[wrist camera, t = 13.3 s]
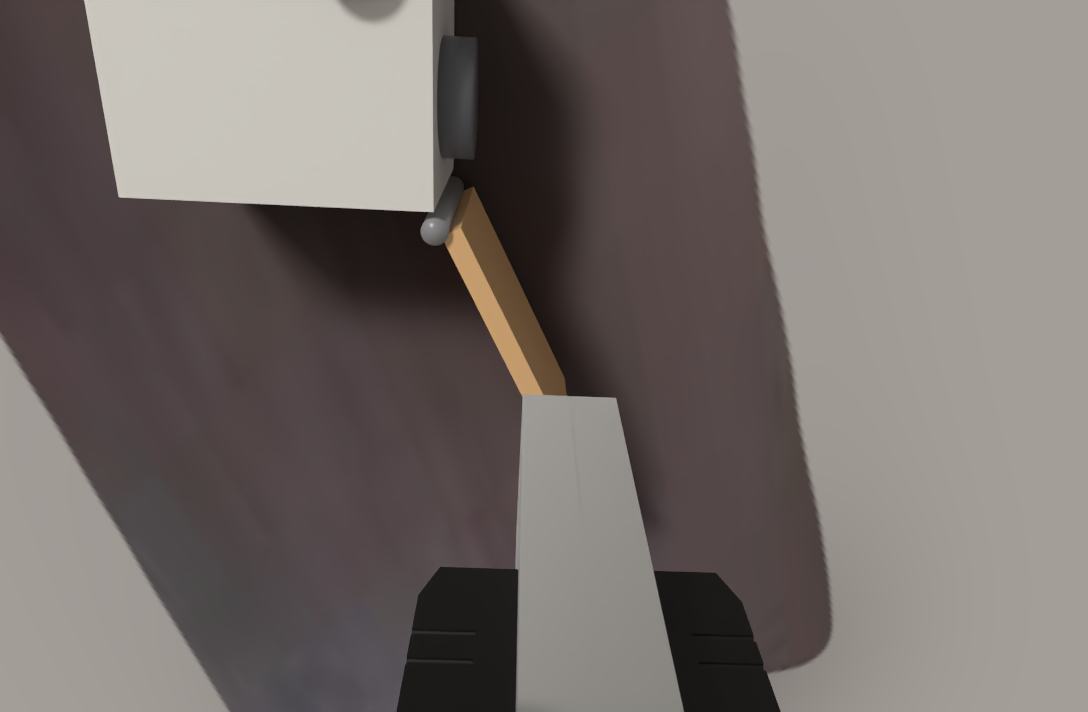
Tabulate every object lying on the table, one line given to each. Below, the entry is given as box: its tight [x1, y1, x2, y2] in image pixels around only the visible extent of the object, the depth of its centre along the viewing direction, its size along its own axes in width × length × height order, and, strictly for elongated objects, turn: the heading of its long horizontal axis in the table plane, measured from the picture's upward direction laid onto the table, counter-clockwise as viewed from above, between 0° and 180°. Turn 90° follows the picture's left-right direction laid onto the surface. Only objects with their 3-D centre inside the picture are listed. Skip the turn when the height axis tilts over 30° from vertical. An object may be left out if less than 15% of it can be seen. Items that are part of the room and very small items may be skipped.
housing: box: [84, 0, 479, 212], centre depth 29 cm, size 10×12×9 cm
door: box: [421, 176, 568, 397], centre depth 35 cm, size 1×16×8 cm, turn 24°
